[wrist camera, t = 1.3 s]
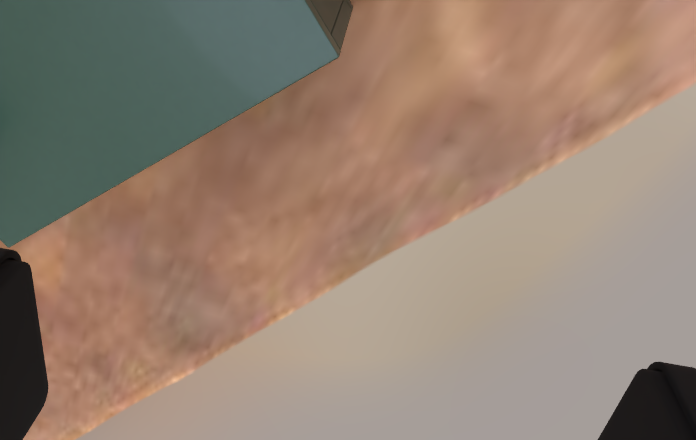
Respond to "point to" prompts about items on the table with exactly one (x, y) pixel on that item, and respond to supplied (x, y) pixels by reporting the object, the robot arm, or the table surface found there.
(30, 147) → the chest lid
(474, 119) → the table surface
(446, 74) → the table surface
